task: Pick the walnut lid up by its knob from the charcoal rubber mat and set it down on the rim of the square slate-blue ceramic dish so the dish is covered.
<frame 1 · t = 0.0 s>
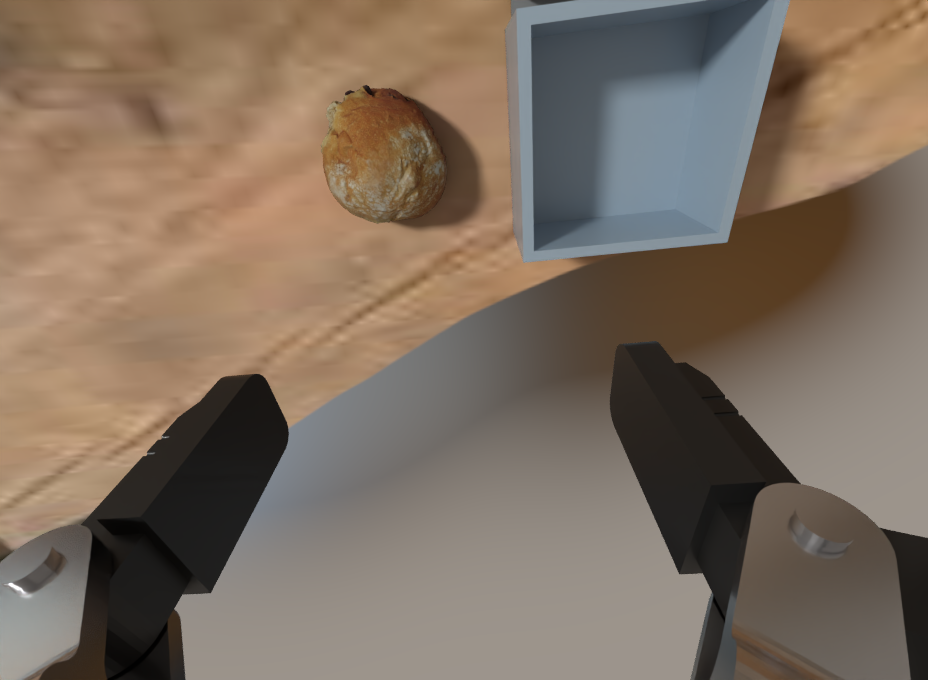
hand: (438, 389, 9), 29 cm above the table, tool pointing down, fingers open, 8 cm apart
bread roll: (387, 156, 33), on the table
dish: (600, 132, 32), on the table
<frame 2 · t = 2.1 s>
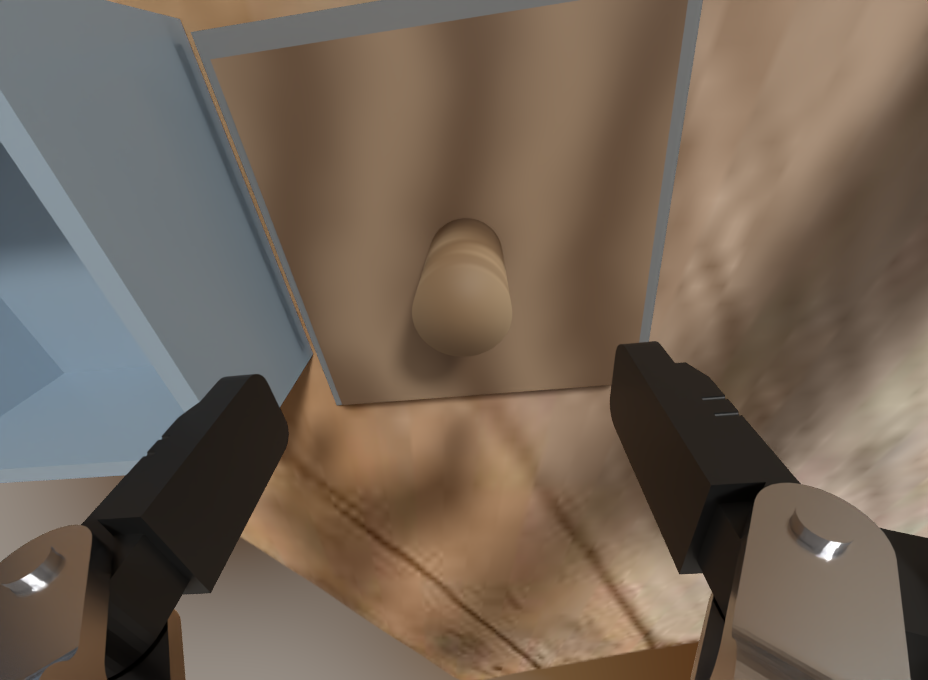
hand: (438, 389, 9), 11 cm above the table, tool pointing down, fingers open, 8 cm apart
mat: (466, 242, 18), on the table
lid: (466, 246, 18), resting on mat
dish: (115, 240, 19), on the table
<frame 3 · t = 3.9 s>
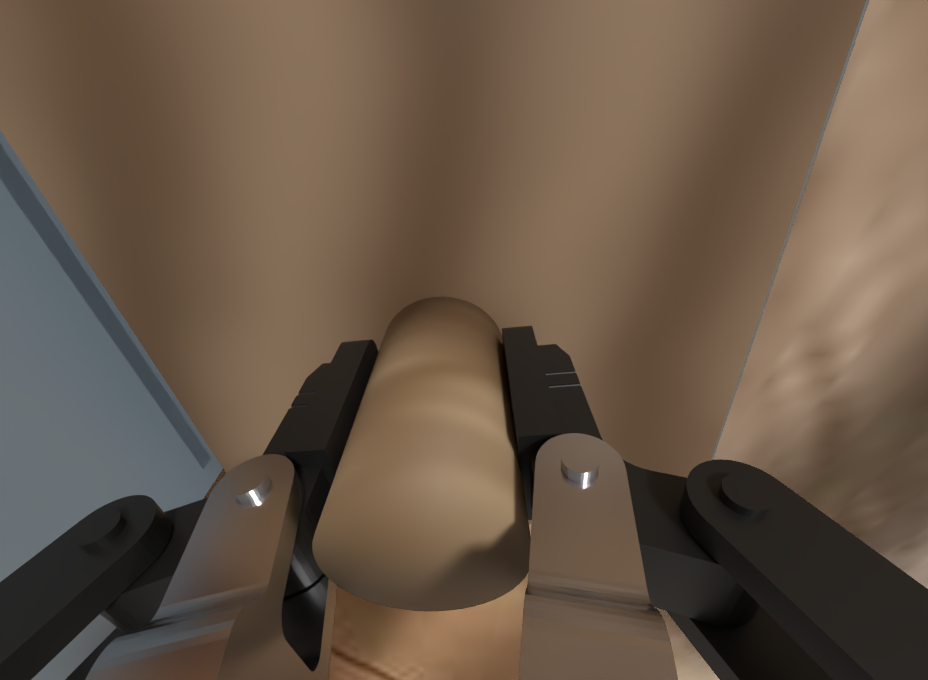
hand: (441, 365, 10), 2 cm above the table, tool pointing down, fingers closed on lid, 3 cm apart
mat: (446, 319, 12), on the table
lid: (446, 328, 11), resting on mat, touching gripper
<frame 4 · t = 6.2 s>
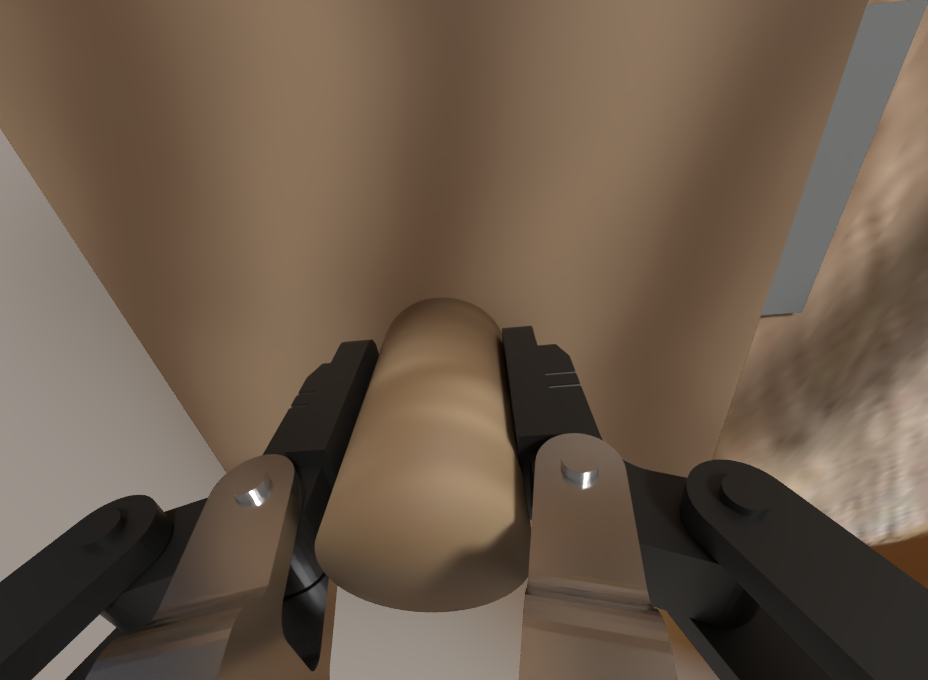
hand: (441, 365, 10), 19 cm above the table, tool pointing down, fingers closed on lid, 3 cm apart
mat: (699, 198, 25), on the table
lid: (447, 328, 11), point 17 cm above the table, touching gripper
when the fingers open (11 cm above the table, at t = 8.4 s): lid drops 1 cm, resting on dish.
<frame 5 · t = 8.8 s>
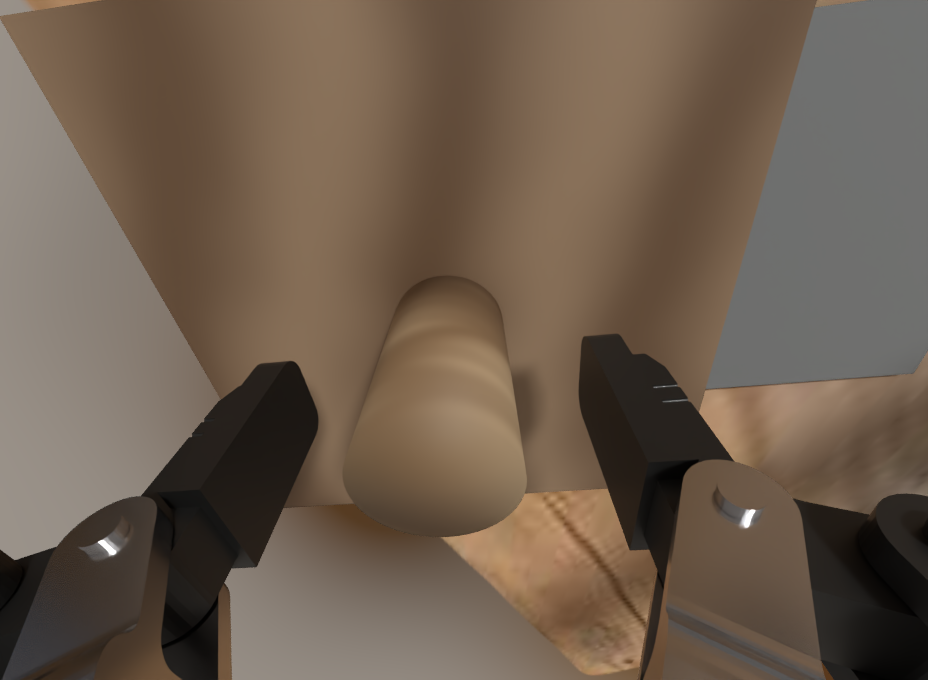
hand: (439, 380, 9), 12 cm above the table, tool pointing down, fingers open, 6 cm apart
mat: (800, 237, 19), on the table
lid: (450, 307, 12), point 8 cm above the table, touching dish
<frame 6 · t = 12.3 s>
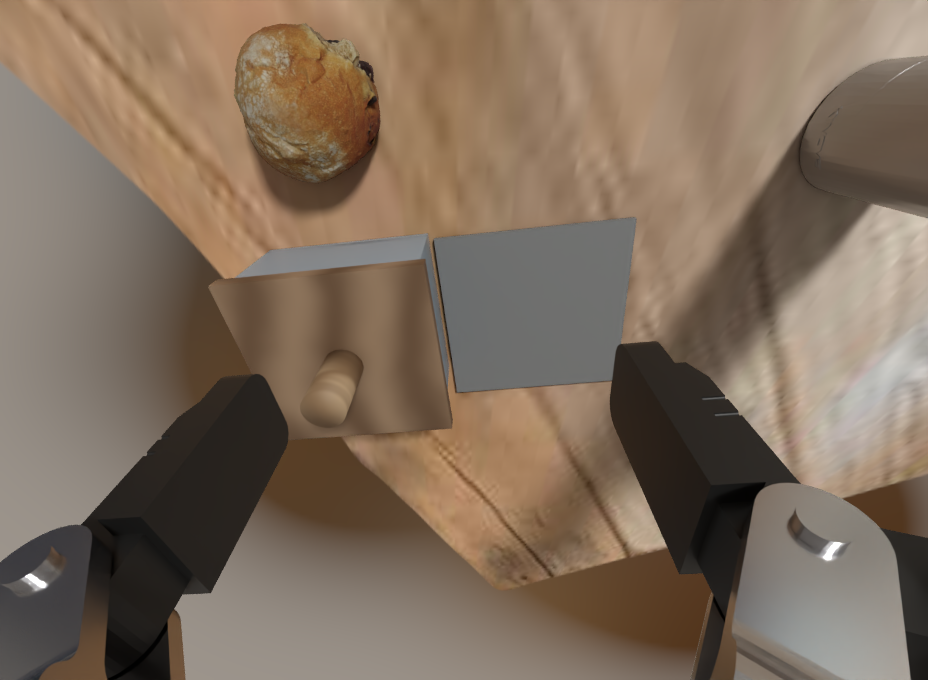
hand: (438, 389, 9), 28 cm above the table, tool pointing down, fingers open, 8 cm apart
mat: (533, 315, 40), on the table
bread roll: (320, 106, 30), on the table
lid: (347, 357, 33), point 8 cm above the table, touching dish
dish: (367, 313, 40), on the table
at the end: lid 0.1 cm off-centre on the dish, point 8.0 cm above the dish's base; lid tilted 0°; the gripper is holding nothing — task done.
